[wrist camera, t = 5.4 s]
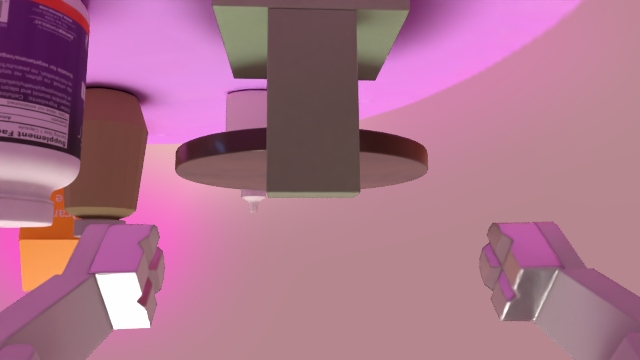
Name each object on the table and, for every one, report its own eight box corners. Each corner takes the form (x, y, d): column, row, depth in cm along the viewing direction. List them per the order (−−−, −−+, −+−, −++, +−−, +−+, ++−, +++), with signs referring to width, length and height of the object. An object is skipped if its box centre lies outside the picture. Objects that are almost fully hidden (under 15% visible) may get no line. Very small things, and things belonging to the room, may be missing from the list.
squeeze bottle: (44, 84, 46) (28, 276, 43) (124, 79, 45) (113, 276, 42) (94, 109, 54) (83, 273, 51) (163, 105, 53) (156, 273, 50)
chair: (215, -140, 20) (207, 193, 18) (404, -131, 21) (417, 193, 19) (236, -29, 28) (231, 212, 26) (372, -25, 29) (378, 211, 26)
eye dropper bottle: (273, 104, 53) (272, 214, 51) (222, 97, 50) (219, 212, 49) (288, 92, 49) (288, 210, 47) (233, 84, 47) (231, 208, 45)
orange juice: (117, 132, 64) (108, 286, 61) (41, 126, 61) (28, 289, 58) (114, 116, 57) (104, 290, 54) (28, 109, 54) (12, 293, 51)
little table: (151, -65, 25) (140, 148, 23) (455, -54, 26) (467, 150, 24) (204, 59, 41) (200, 191, 39) (392, 63, 42) (396, 191, 40)
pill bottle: (51, 33, 36) (35, 230, 33) (-84, -16, 29) (-116, 224, 27) (117, 1, 31) (103, 225, 29) (-26, -66, 25) (-57, 217, 22)
